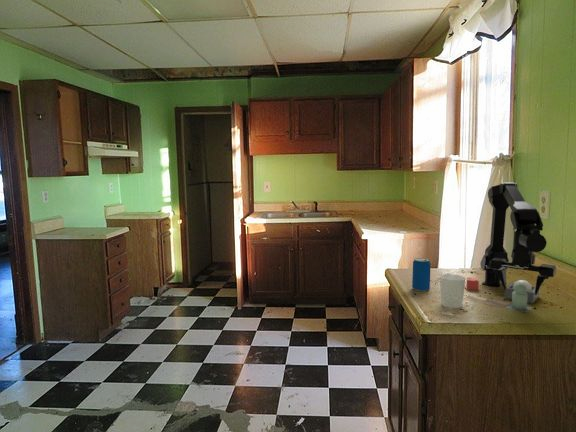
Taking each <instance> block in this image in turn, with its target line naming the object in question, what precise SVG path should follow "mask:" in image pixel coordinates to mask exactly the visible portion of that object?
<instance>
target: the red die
mask: <svg viewBox="0 0 576 432" xmlns="http://www.w3.org/2000/svg"><path fill="white" fill-rule="evenodd" d="M479 283H480V281H479V278H478V277H477V278H476V277H466V290H468V291H478V292H479V285H480V284H479Z"/></svg>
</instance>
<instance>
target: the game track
mask: <svg viewBox="0 0 576 432" xmlns="http://www.w3.org/2000/svg"><path fill="white" fill-rule="evenodd" d="M463 301H468V302H473V303H478V304H484V305H488V306H493V307H497V308H503V309H505V308H506V309H507V310H513V311H518V312H522V313H529V312H530V311H531V310H532V309H533V307H532V306H528V305H527V309H526V310H518V309H514V308H512V302H506V301H501V300H496V299H491V298H489V299H488V298H486V297H481V296H476V295H470V294H469V295H467V296H466V297H465V298H464V297H463Z"/></svg>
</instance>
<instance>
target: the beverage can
mask: <svg viewBox="0 0 576 432" xmlns="http://www.w3.org/2000/svg"><path fill="white" fill-rule="evenodd" d="M431 264H432V263H431V260H430V258H425V257H414V258H413V262H412V281H411V282H412V284H411V285H412V287H411V289H413V290H414V291H416V292H426V291H429V290H430V288H431Z"/></svg>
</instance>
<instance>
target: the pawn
mask: <svg viewBox="0 0 576 432" xmlns="http://www.w3.org/2000/svg"><path fill="white" fill-rule="evenodd" d="M527 295H528V294H527V293H526V287H525V286H524V285H522V284H517V285H516V286H515V287H514V292H512V299H511V303H512V308H514V309H518V310H526V309H527V306H528V302H527Z"/></svg>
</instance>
